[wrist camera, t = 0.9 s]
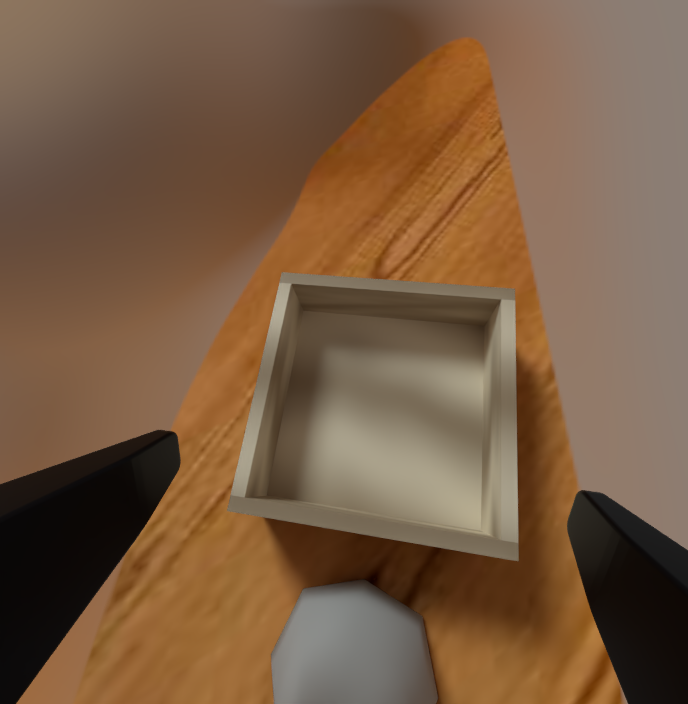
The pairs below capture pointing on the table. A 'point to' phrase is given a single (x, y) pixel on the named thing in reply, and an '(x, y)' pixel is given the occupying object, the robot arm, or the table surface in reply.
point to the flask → (352, 650)
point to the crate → (387, 413)
